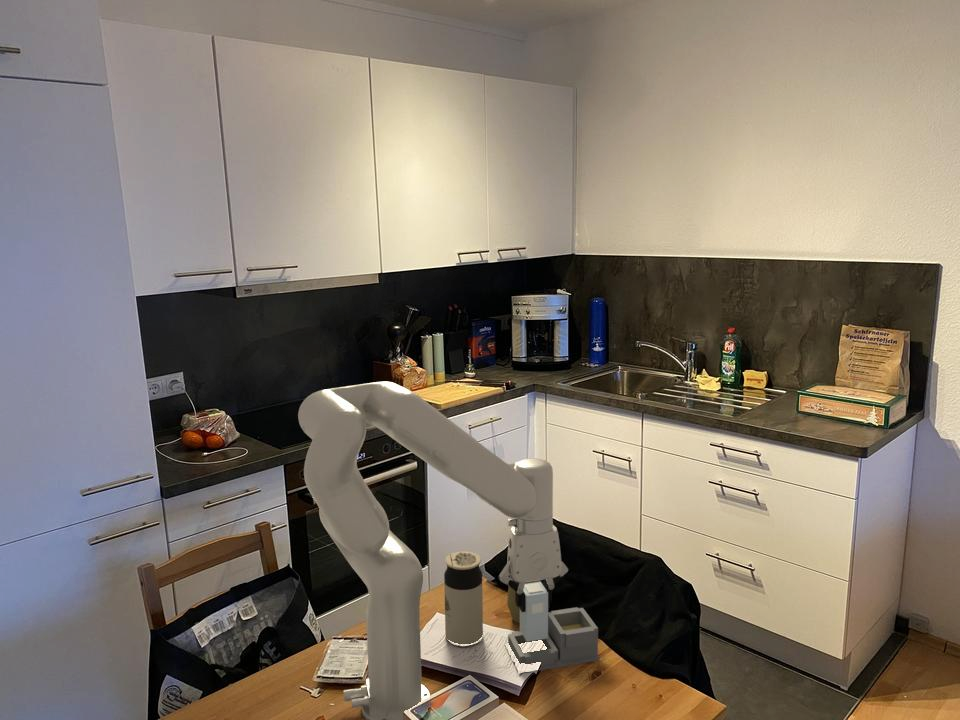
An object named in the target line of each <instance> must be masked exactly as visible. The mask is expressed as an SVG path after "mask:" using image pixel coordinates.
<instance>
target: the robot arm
mask: <svg viewBox="0 0 960 720" xmlns="http://www.w3.org/2000/svg"><path fill="white" fill-rule="evenodd" d="M297 417H298V418H297V419H298V423H299V426H300V428H301V429H302V431H303V433H304V434H306V435H307V436H308V437H309V438H310V439H311V440H312V441H311V443H310V445H309V447H308V450H307V453H306V456H305V460H304V465H303V476H304V477H303V478H304V482H305V485H306V488H307V491H309V493H310V495H311V496H312V498H313V500H314V502H315V503H316V505H317V506H318V508H319V510H318V514H319V518H320V522H321V524H322V525H323V527H324V529H325V530H326V532H327V533H328V535H329V537H330V538H331V540H332V541H333V542H334V543H335V546H337V548H338V549H339V551H340V553H341V554H342V555H343V556H344V559H345V560H346V561H347V562H348V564H349V566H351V568H352V570H354V572H355V573H356V574H357V575H358V577H359V578H360V579H361V581H362V582H363V583H364V584H365V586H366V588H367V592H368V603H367V607H366V613H365V624H366V625H365V626H366V630H365V631H366V640H367V641H366V642H367V643H366V648H367V666H368V667H367V668H368V669H367V670H368V678H366V680H365V684H364V685H363V684H362V685H360V688H359V687H357V688H351V689H344V690H343V702H344V703H345V702H346V703H347V702H351V708H352V709H355V708H359V707H361V713H362V716H363V717H364V719H365V720H403V712H404V711H405V710H408V709H410V708H412V707H413V706H415V705H417V704H418V703H419V702H421V701H422V700H424V699H426V698H428V697H430V698H431V693H430V691H429V690H428V688H427V687H425V685H423V684H422V683H423V681H422V654H421V653H422V650H421V621H420V620H421V618H420V616H421V615H420V613H421V612H420V611H421V610H420V608H421V595H422V589H423V582H424V572H423V568H422V565H421V563H420V561H419V559H418V557H417V556H416V554H415V553H414V552H413V550H411V549H410V548H409V547H408V546H407V545H406V543H404V542H403V541H402V540H400V539H399V538H398V537H397V535H395V534H394V533H393V532H392V531H391V529H390V522H389V519H388V516H387V513H386V511H385V509H384V507H383V506H382V505H381V504H380V502H379V501H378V500H377V499H376V497H375V496H374V494H373V492H372V491H371V489H370V488H369V486H368V485H367V483H366V482H365V480H364V478H363V476H362V475H361V472H360V470H359V468H358V464H357V463H358V462H357V461H358V457H359V453H360V451H361V448H362V447H363V444H364V442H365V439H366V434H367V429H372V428H376V429H378V430H380V431H382V432H383V433H384V434H386V435H387V436H389V437H390V438H391V439H392V440H394V441H396V443H397V444H399V445H401V446H403V447H404V448H406V449H407V450H409V451H410V452H411V453H412V454H414V455H415V456H417V457H418V458H420V459H421V460H422V461H424V462H425V463H426V464H428V466H431V467H432V468H433V469H435V470H437V472H439V473H441V474H442V475H444V476H445V477H446V478H448V479H450V480H452V481H454V482H456V483H458V484H460V485H461V486H463V487H465V488H466V489H468V490H470V491H471V492H472V493H474V494H475V495H476V496H477V497H478V498H479V499H481V501H484V502H485V503H486V504H487V505H489V506H491V507H492V508H494V509H496V510H497V511H498V512H500V513H502V515H505V516H506V517H507V518H508V517H509V518H508V519H507V520H506V523H507V526H508V527H511V530H510V533H509V539H508V547H507V561H506V562H507V563H506V564H505V566H504V567H503V569H502V570H501V572H500V573H499V575H498V579H499V581H500V582H501V583H503V584H505V585H507V586H508V587H509V586H510V587H511V588H512V589H513V590H515V602H516V606H517V607H519V608H520V610H521V611H522V612H525V593H524V590H523V589H524V585H525V582H530V581H537V580H541V581H543V582H541V583H542V585H543V586H544V587H545V589H546V590H547V592H548V609H551V602H552V601H553V590H554V588H555V586H556V584H557V583H558V582H559V581H560V579H561V578H562V577H564V576H565V574H567V573H568V571H569V568H568V567H567V565H566V564H565V563H564V562H563V561H562V553H561V545H560V538H559V537H560V536H559V532H558V529H557V527H556V526H555V525H554V524H553V523H554V522H553V521H554V520H553V519H554V518H553V516H554V514H553V511H554V508H553V507H554V505H553V503H554V501H553V499H554V497H553V495H554V494H553V493H554V492H553V491H554V483H553V482H554V472H553V471H554V470H553V466H552V465H551V463H550V462H549V461H547V460H546V459H545V460H544V459H542V458H524V459H521V460H519V461H515V462H506V461H504V460H503V459H502V458H501V457H499V456H498V455H496V454H495V453H493V452H492V451H491V450H489V449H488V448H487V447H485V446H484V445H483V444H482V443H481V442H479V441H478V440H477V439H476V438H474V437H473V436H472V435H471V434H469V433H467V432H466V431H465V430H464V429H462V428H461V427H460V426H458V424H456V423H455V422H454V421H452V420H450V419H449V418H448V417H447V416H446V415H444V414H442V412H440V411H439V410H437V408H435V407H434V406H433V405H431V404H430V403H428V402H427V401H426V400H425V399H424V398H422V397H421V396H420V395H418V394H417V393H416V392H413V391H412V390H410V389H408V388H406V387H404V386H402V385H400V384H397V383H395V382H392V381H376V382H375V381H374V382H369V383H368V382H367V383H362V384H361V383H360V384H354V385H347V386H339V387H332V388H327V389H321V390H318V391H315V392H312V393H311V394H310V395H308V396H307V397H306V398H304V399H303V401H302V403H301V404H300V406H299V409H298V413H297ZM510 573H511V576H512V578H510Z"/></svg>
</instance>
